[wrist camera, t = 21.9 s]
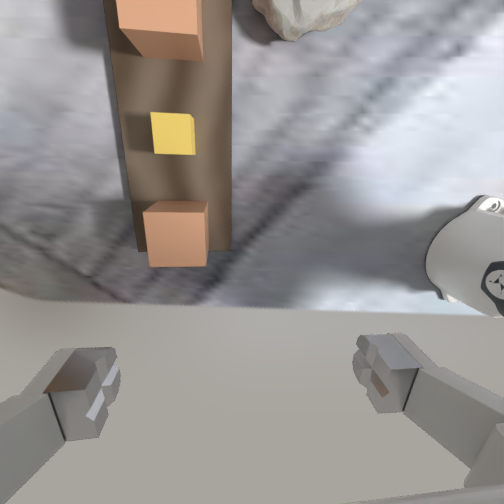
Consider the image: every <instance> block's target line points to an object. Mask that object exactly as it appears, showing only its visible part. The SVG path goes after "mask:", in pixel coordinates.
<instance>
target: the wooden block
mask: <svg viewBox="0 0 504 504" xmlns="http://www.w3.org/2000/svg"><path fill="white" fill-rule="evenodd" d="M143 218H144V226H145V234H146V242H147V250H148V258H149V266H150V267H194V266H206V263H207V256H208V249H209V230H208V201H157V202H156V203H154V204H153V205H152V206H150V207H149V208H148V209H146V210H145V211H144V212H143Z"/></svg>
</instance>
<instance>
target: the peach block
mask: <svg viewBox="0 0 504 504" xmlns="http://www.w3.org/2000/svg"><path fill="white" fill-rule="evenodd" d="M116 4H117V12H118V20H119V28H120V29H121V30H122V32H123V33H124V34H125V35H126V36H127V38H128V39H129V40H130V41H131V43H132V44H133V45H134V46H135V47H136V49H137V50H138V51H139V52H140V53H141V55H142V56H143V57H148V58H161V59H175V60H188V61H202V62H203V40H202V8H201V0H116Z"/></svg>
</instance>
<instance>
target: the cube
mask: <svg viewBox="0 0 504 504" xmlns="http://www.w3.org/2000/svg"><path fill="white" fill-rule="evenodd" d="M150 113H151V123H152V133H153V143H154V153H155V154H181V155H196V154H195V132H194V118H193V117H192V116H191V115H190V114H178V113H159V112H150Z"/></svg>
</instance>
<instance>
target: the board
mask: <svg viewBox="0 0 504 504" xmlns="http://www.w3.org/2000/svg"><path fill="white" fill-rule="evenodd" d="M103 3H104V11H105V18H106V25H107V32H108V39H109V46H110V53H111V60H112V68H113V75H114V82H115V89H116V96H117V103H118V110H119V118H120V125H121V132H122V139H123V146H124V153H125V160H126V167H127V175H128V182H129V189H130V196H131V203H132V210H133V217H134V225H135V232H136V239H137V246H138V252H148V250H147V242H146V234H145V226H144V218H143V212H144V211H145V210H146V209H148V208H149V207H150V206H152V205H153V204H154V203H156V202H157V201H208V230H209V249H208V251H231V165H232V0H201V8H202V40H203V62H202V61H188V60H175V59H161V58H148V57H143V56H142V55H141V53H140V52H139V51H138V50H137V49H136V47H135V46H134V45H133V44H132V43H131V41H130V40H129V39H128V38H127V36H126V35H125V34H124V33H123V32H122V30H121V29H120V28H119V20H118V12H117V4H116V0H103ZM150 112H159V113H178V114H190V115H191V116H192V117H193V118H194V132H195V154H196V155H181V154H155V153H154V143H153V133H152V123H151V113H150Z"/></svg>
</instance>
